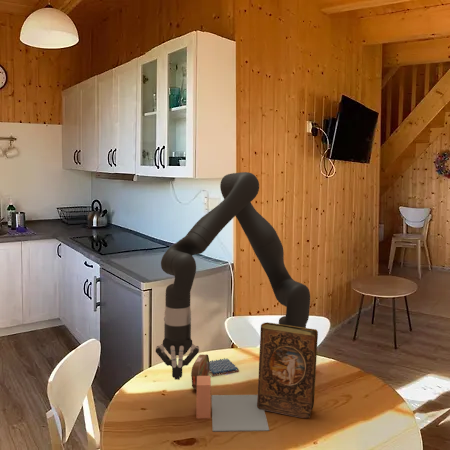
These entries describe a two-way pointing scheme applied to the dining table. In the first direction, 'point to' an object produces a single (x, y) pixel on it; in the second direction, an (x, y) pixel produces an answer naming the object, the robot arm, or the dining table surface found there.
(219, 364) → the woven mat
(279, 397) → the book
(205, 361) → the tin
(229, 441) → the dining table surface
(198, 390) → the terracotta block
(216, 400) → the slate pad
